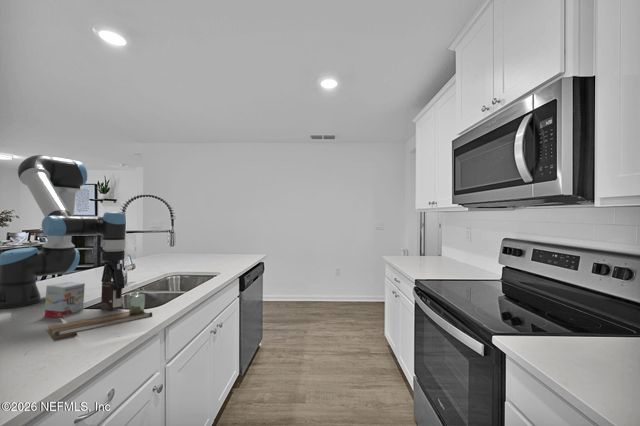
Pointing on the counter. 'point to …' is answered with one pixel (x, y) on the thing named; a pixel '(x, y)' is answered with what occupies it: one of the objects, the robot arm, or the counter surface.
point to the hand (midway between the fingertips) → (111, 303)
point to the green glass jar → (136, 304)
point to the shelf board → (91, 324)
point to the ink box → (64, 299)
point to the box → (108, 297)
